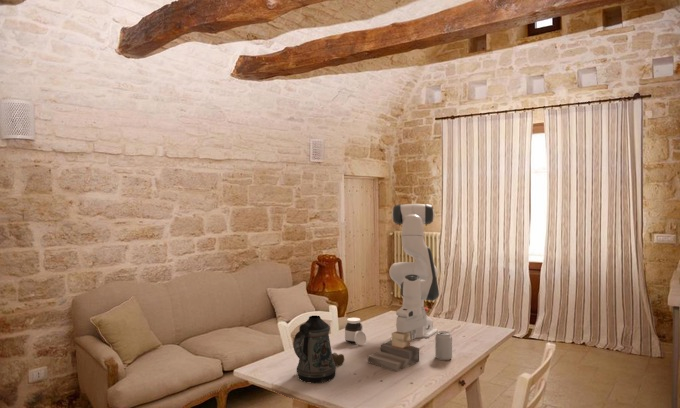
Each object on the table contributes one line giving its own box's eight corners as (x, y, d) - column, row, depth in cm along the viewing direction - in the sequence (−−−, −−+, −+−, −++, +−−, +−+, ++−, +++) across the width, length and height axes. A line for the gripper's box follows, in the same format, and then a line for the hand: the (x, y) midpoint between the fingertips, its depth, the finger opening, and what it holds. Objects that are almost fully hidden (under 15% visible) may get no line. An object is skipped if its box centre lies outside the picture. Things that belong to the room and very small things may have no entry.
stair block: (391, 353, 227) (391, 340, 227) (419, 361, 216) (419, 348, 216) (368, 362, 215) (368, 349, 215) (396, 371, 204) (396, 357, 204)
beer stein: (340, 370, 205) (339, 312, 205) (328, 388, 187) (328, 324, 186) (303, 367, 209) (303, 310, 209) (288, 384, 190) (288, 322, 190)
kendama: (333, 369, 208) (303, 357, 222) (348, 364, 215) (318, 353, 229) (333, 355, 208) (303, 344, 222) (348, 351, 215) (318, 340, 229)
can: (441, 354, 225) (441, 329, 225) (455, 358, 220) (455, 332, 220) (432, 358, 220) (432, 332, 220) (446, 362, 215) (446, 335, 214)
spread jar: (351, 338, 252) (351, 316, 251) (371, 341, 247) (370, 318, 246) (341, 344, 241) (341, 321, 241) (361, 347, 236) (361, 324, 236)
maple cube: (399, 343, 224) (399, 330, 223) (410, 345, 219) (410, 332, 219) (391, 345, 219) (391, 333, 219) (402, 348, 215) (402, 335, 215)
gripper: (419, 305, 235) (419, 332, 235) (394, 312, 220) (394, 342, 221) (430, 307, 231) (430, 335, 231) (405, 314, 216) (405, 345, 216)
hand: (412, 338), depth 226 cm, fingers closed
